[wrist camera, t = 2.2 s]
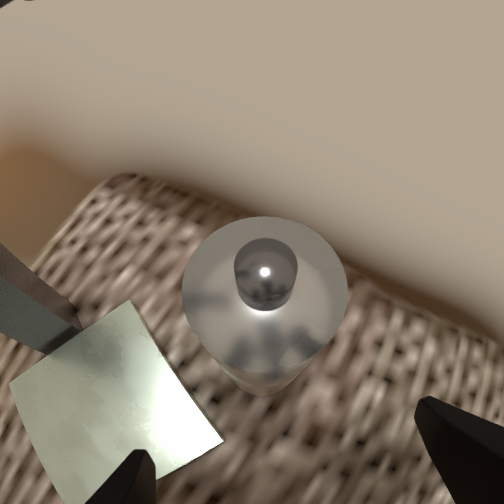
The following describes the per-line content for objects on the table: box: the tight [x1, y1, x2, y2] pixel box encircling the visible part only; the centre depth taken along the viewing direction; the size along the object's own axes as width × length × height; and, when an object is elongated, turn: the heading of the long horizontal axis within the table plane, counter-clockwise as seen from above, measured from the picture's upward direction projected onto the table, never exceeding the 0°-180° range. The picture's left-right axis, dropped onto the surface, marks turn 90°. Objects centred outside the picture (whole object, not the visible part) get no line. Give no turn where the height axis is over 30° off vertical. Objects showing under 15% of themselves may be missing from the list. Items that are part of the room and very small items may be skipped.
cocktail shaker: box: [182, 217, 348, 396], centre depth 14 cm, size 5×5×14 cm
